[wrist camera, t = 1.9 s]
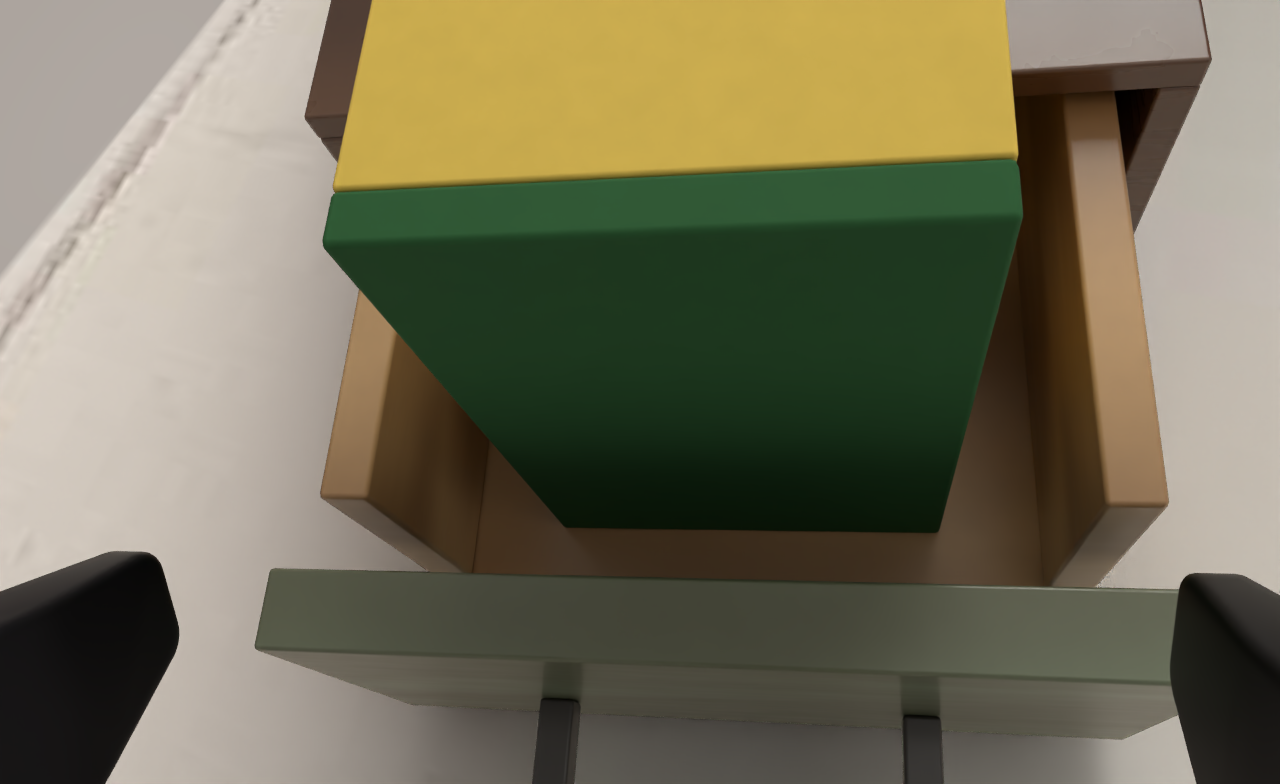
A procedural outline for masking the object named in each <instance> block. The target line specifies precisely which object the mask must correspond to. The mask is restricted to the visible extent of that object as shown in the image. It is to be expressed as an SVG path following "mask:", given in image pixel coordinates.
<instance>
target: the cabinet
mask: <svg viewBox="0 0 1280 784" xmlns="http://www.w3.org/2000/svg"><path fill="white" fill-rule="evenodd" d="M371 3H372V0H331V4H330V8H329V13H328V17H327V21H326V26H325V30H324V34H323V39H322V43H321V47H320V52H319V56H318V60H317V65H316V69H315V73H314V78H313V82H312V86H311V91H310V95H309V99H308V104H307V108H306V112H305V120H306V121H307V122H308V124H309V125H310V127H311V128H312V129H313V131H314V132H315V133H316V135H317V136H318V137H319V138H321V140H322V142H323V144H324V145H325V146H326V148H327V149H328V151H329V152H330V153H331V155H332V156H333V157H334V159H335V160H336V161H337V163H338V159H339V154H340V149H341V145H342V140H343V135H344V130H345V126H346V121H347V116H348V112H349V107H350V102H351V97H352V93H353V88H354V83H355V78H356V74H357V69H358V64H359V60H360V55H361V50H362V45H363V41H364V36H365V31H366V26H367V22H368V17H369V12H370V8H371ZM1005 4H1006V15H1007V27H1008V39H1009V50H1010V62H1011V73H1012V85H1013V96H1014V97H1018V96H1035V95H1051V94H1068V93H1085V92H1102V91H1115V98H1116V106H1117V113H1118V121H1119V129H1120V136H1121V144H1122V151H1123V159H1124V166H1125V174H1126V181H1127V189H1128V196H1129V204H1130V212H1131V219H1132V227H1133V234H1134V232H1135V230H1136V228H1137V226H1138V223H1139V221H1140V219H1141V217H1142V215H1143V212H1144V210H1145V208H1146V206H1147V204H1148V201H1149V199H1150V197H1151V195H1152V192H1153V190H1154V188H1155V186H1156V184H1157V181H1158V179H1159V177H1160V175H1161V172H1162V170H1163V168H1164V166H1165V164H1166V161H1167V159H1168V157H1169V155H1170V153H1171V150H1172V148H1173V146H1174V144H1175V141H1176V139H1177V137H1178V135H1179V133H1180V130H1181V128H1182V126H1183V124H1184V121H1185V119H1186V117H1187V115H1188V113H1189V110H1190V108H1191V106H1192V104H1193V102H1194V99H1195V97H1196V95H1197V93H1198V90H1199V88H1200V84H1201V83H1202V81H1203V78H1204V76H1205V74H1206V72H1207V70H1208V67H1209V65H1210V63H1211V60H1212V58H1211V52H1210V47H1209V41H1208V36H1207V30H1206V24H1205V19H1204V13H1203V8H1202V2H1201V0H1005Z"/></svg>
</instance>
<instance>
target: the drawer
mask: <svg viewBox="0 0 1280 784" xmlns="http://www.w3.org/2000/svg"><path fill="white" fill-rule="evenodd" d="M1014 108H1015V119H1016V131H1017V142H1018V158H1017V162H1016V163H1017V165H1018V167H1019V172H1020V184H1021V195H1022V207H1023V218H1022V222H1021V226H1020V230H1019V233H1018V237H1017V241H1016V245H1015V248H1014V252H1013V256H1012V260H1011V263H1010V267H1009V271H1008V275H1007V278H1006V282H1005V286H1004V290H1003V293H1002V297H1001V301H1000V305H999V308H998V312H997V316H996V320H995V324H994V327H993V331H992V335H991V339H990V342H989V346H988V350H987V354H986V357H985V361H984V365H983V369H982V372H981V376H980V380H979V384H978V387H977V391H976V395H975V399H974V402H973V406H972V410H971V414H970V417H969V421H968V425H967V429H966V432H965V436H964V440H963V444H962V447H961V451H960V455H959V459H958V462H957V466H956V470H955V474H954V477H953V481H952V485H951V489H950V492H949V496H948V500H947V504H946V507H945V511H944V515H943V519H942V522H941V526H940V529H939V532H936V533H899V532H831V531H762V530H694V529H626V528H566V527H564V526H563V525H562V524H561V522H560V521H559V520H558V519H557V518H556V517H555V516H554V514H553V513H552V512H551V511H550V510H549V509H548V507H547V506H546V505H545V504H544V503H543V502H542V500H541V499H540V498H539V497H538V496H537V495H536V493H535V492H534V491H533V490H532V489H531V488H530V487H529V485H528V484H527V483H526V482H525V481H524V480H523V478H522V477H521V476H520V475H519V474H518V473H517V471H516V470H515V469H514V468H513V467H512V466H511V465H510V463H509V462H508V461H507V460H506V459H505V458H504V456H503V455H502V454H501V453H500V452H499V451H498V449H497V448H496V447H495V446H494V445H493V444H492V442H491V441H490V440H489V439H488V438H487V437H486V436H485V434H484V433H483V432H482V431H481V430H480V429H479V427H478V426H477V425H476V424H475V423H474V422H473V420H472V419H471V418H470V417H469V416H468V415H467V413H466V412H465V411H464V410H463V409H462V408H461V407H460V405H459V404H458V403H457V402H456V401H455V400H454V398H453V397H452V396H451V395H450V394H449V393H448V391H447V390H446V389H445V388H444V387H443V386H442V384H441V383H440V382H439V381H438V380H437V379H436V378H435V376H434V375H433V374H432V373H431V372H430V371H429V369H428V368H427V367H426V366H425V365H424V364H423V362H422V361H421V360H420V359H419V358H418V357H417V355H416V354H415V353H414V352H413V351H412V350H411V349H410V347H409V346H408V345H407V344H406V343H405V342H404V340H403V339H402V338H401V337H400V336H399V335H398V333H397V332H396V331H395V330H394V329H393V328H392V327H391V325H390V324H389V323H388V322H387V321H386V320H385V318H384V317H383V316H382V315H381V314H380V313H379V311H378V310H377V309H376V308H375V307H374V306H373V304H372V303H371V302H370V301H369V300H368V299H367V298H366V296H365V295H364V294H363V293H362V292H361V291H360V289H359V293H358V298H357V304H356V309H355V314H354V319H353V324H352V330H351V335H350V340H349V345H348V351H347V356H346V361H345V366H344V371H343V377H342V382H341V387H340V392H339V398H338V403H337V408H336V413H335V418H334V424H333V429H332V434H331V439H330V445H329V450H328V455H327V460H326V465H325V471H324V476H323V481H322V486H321V491H320V495H321V498H322V499H323V500H325V501H326V502H328V503H329V504H331V505H332V506H334V507H335V508H337V509H338V510H340V511H341V512H342V513H344V514H345V515H347V516H348V517H350V518H351V519H353V520H354V521H356V522H357V523H359V524H360V525H362V526H363V527H364V528H366V529H367V530H369V531H370V532H372V533H373V534H375V535H376V536H378V537H379V538H381V539H382V540H384V541H385V542H386V543H388V544H389V545H391V546H392V547H394V548H395V549H397V550H398V551H400V552H401V553H403V554H404V555H405V556H407V557H408V558H410V559H411V560H413V561H414V562H416V563H417V564H419V565H420V566H422V567H423V568H425V569H426V570H427V571H429V572H411V571H368V570H325V569H283V568H275V569H271V571H270V573H269V578H268V582H267V587H266V592H265V597H264V602H263V607H262V612H261V617H260V622H259V626H258V631H257V636H256V641H255V649H256V650H258V651H261V652H264V653H267V654H269V655H272V656H275V657H278V658H281V659H284V660H286V661H289V662H292V663H295V664H298V665H301V666H303V667H306V668H309V669H312V670H315V671H318V672H320V673H323V674H326V675H329V676H332V677H335V678H337V679H340V680H343V681H346V682H349V683H352V684H354V685H357V686H360V687H363V688H366V689H369V690H371V691H374V692H377V693H380V694H383V695H386V696H388V697H391V698H394V699H397V700H400V701H403V702H405V703H408V704H411V705H422V706H442V707H463V708H483V709H504V710H524V711H539V719H538V729H537V739H536V749H535V759H534V769H533V779H532V784H574V781H575V769H576V758H577V746H578V734H579V722H580V713H586V714H606V715H627V716H647V717H668V718H688V719H709V720H730V721H750V722H771V723H791V724H812V725H832V726H853V727H873V728H894V729H901V731H902V766H903V784H944V772H943V748H942V731H955V732H976V733H996V734H1017V735H1037V736H1058V737H1079V738H1099V739H1120V740H1122V739H1125V738H1127V737H1129V736H1132V735H1134V734H1136V733H1138V732H1141V731H1143V730H1145V729H1147V728H1150V727H1152V726H1154V725H1156V724H1159V723H1161V722H1163V721H1165V720H1168V719H1170V718H1172V717H1174V716H1177V715H1178V712H1177V708H1176V704H1175V701H1174V697H1173V693H1172V687H1171V680H1170V657H1171V649H1172V641H1173V633H1174V624H1175V616H1176V608H1177V600H1178V592H1179V589H1137V588H1095V587H1096V586H1097V585H1098V584H1099V582H1100V581H1101V580H1102V579H1103V578H1104V577H1105V576H1106V575H1107V573H1108V572H1109V571H1110V570H1111V569H1112V568H1113V567H1114V566H1115V565H1116V563H1117V562H1118V561H1119V560H1120V559H1121V558H1122V557H1123V556H1124V554H1125V553H1126V552H1127V551H1128V550H1129V549H1130V548H1131V547H1132V545H1133V544H1134V543H1135V542H1136V541H1137V540H1138V539H1139V538H1140V537H1141V535H1142V534H1143V533H1144V532H1145V531H1146V530H1147V529H1148V528H1149V526H1150V525H1151V524H1152V523H1153V522H1154V521H1155V520H1156V519H1157V518H1158V516H1159V515H1160V514H1161V513H1162V512H1163V511H1164V510H1165V509H1166V507H1167V506H1168V504H1169V498H1168V491H1167V483H1166V476H1165V468H1164V461H1163V453H1162V445H1161V438H1160V430H1159V423H1158V415H1157V408H1156V400H1155V393H1154V385H1153V378H1152V370H1151V362H1150V355H1149V347H1148V340H1147V332H1146V325H1145V317H1144V310H1143V302H1142V295H1141V287H1140V279H1139V272H1138V264H1137V257H1136V249H1135V242H1134V234H1133V227H1132V219H1131V212H1130V204H1129V196H1128V189H1127V181H1126V174H1125V166H1124V159H1123V151H1122V144H1121V136H1120V129H1119V121H1118V113H1117V106H1116V98H1115V91H1102V92H1085V93H1068V94H1051V95H1035V96H1018V97H1014Z"/></svg>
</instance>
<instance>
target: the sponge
mask: <svg viewBox="0 0 1280 784" xmlns="http://www.w3.org/2000/svg"><path fill="white" fill-rule="evenodd" d="M1017 158H1018V142H1017V131H1016V119H1015V108H1014V96H1013V85H1012V73H1011V62H1010V50H1009V39H1008V27H1007V15H1006V4H1005V0H372V3H371V8H370V12H369V17H368V22H367V26H366V31H365V36H364V41H363V45H362V50H361V55H360V60H359V64H358V69H357V74H356V78H355V83H354V88H353V93H352V97H351V102H350V107H349V112H348V116H347V121H346V126H345V130H344V135H343V140H342V145H341V149H340V154H339V159H338V164H337V168H336V173H335V178H334V182H333V190H334V192H335V194H333V196H332V198H331V202H330V207H329V212H328V216H327V221H326V226H325V231H324V235H323V246H324V249H325V250H326V251H327V252H328V253H329V255H330V256H331V257H332V258H333V259H334V260H335V262H336V263H337V264H338V265H339V266H340V267H341V269H342V270H343V271H344V272H345V273H346V274H347V275H348V277H349V278H350V279H351V280H352V281H353V282H354V284H355V285H356V286H357V287H358V288H359V289H360V291H361V292H362V293H363V294H364V295H365V296H366V298H367V299H368V300H369V301H370V302H371V303H372V304H373V306H374V307H375V308H376V309H377V310H378V311H379V313H380V314H381V315H382V316H383V317H384V318H385V320H386V321H387V322H388V323H389V324H390V325H391V327H392V328H393V329H394V330H395V331H396V332H397V333H398V335H399V336H400V337H401V338H402V339H403V340H404V342H405V343H406V344H407V345H408V346H409V347H410V349H411V350H412V351H413V352H414V353H415V354H416V355H417V357H418V358H419V359H420V360H421V361H422V362H423V364H424V365H425V366H426V367H427V368H428V369H429V371H430V372H431V373H432V374H433V375H434V376H435V378H436V379H437V380H438V381H439V382H440V383H441V384H442V386H443V387H444V388H445V389H446V390H447V391H448V393H449V394H450V395H451V396H452V397H453V398H454V400H455V401H456V402H457V403H458V404H459V405H460V407H461V408H462V409H463V410H464V411H465V412H466V413H467V415H468V416H469V417H470V418H471V419H472V420H473V422H474V423H475V424H476V425H477V426H478V427H479V429H480V430H481V431H482V432H483V433H484V434H485V436H486V437H487V438H488V439H489V440H490V441H491V442H492V444H493V445H494V446H495V447H496V448H497V449H498V451H499V452H500V453H501V454H502V455H503V456H504V458H505V459H506V460H507V461H508V462H509V463H510V465H511V466H512V467H513V468H514V469H515V470H516V471H517V473H518V474H519V475H520V476H521V477H522V478H523V480H524V481H525V482H526V483H527V484H528V485H529V487H530V488H531V489H532V490H533V491H534V492H535V493H536V495H537V496H538V497H539V498H540V499H541V500H542V502H543V503H544V504H545V505H546V506H547V507H548V509H549V510H550V511H551V512H552V513H553V514H554V516H555V517H556V518H557V519H558V520H559V521H560V522H561V524H562V525H563V526H564V527H566V528H626V529H694V530H762V531H831V532H899V533H936V532H939V529H940V526H941V522H942V519H943V515H944V511H945V507H946V504H947V500H948V496H949V492H950V489H951V485H952V481H953V477H954V474H955V470H956V466H957V462H958V459H959V455H960V451H961V447H962V444H963V440H964V436H965V432H966V429H967V425H968V421H969V417H970V414H971V410H972V406H973V402H974V399H975V395H976V391H977V387H978V384H979V380H980V376H981V372H982V369H983V365H984V361H985V357H986V354H987V350H988V346H989V342H990V339H991V335H992V331H993V327H994V324H995V320H996V316H997V312H998V308H999V305H1000V301H1001V297H1002V293H1003V290H1004V286H1005V282H1006V278H1007V275H1008V271H1009V267H1010V263H1011V260H1012V256H1013V252H1014V248H1015V245H1016V241H1017V237H1018V233H1019V230H1020V226H1021V222H1022V218H1023V207H1022V195H1021V184H1020V172H1019V167H1018V165H1017V163H1016V162H1017Z"/></svg>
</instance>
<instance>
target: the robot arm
mask: <svg viewBox="0 0 1280 784" xmlns="http://www.w3.org/2000/svg"><path fill="white" fill-rule="evenodd" d="M178 641H179V626H178V621H177V618H176V614H175V611H174V607H173V603H172V600H171V596H170V593H169V589H168V586H167V582H166V579H165V575H164V572H163V568H162V566H161V563H160V562H159V561H158V559H157V558H156V557H155V556H153V555H152V554H150V553H147V552H127V551H113V552H108V553H104V554H101V555H99V556H96V557H93V558H90V559H88V560H85V561H82V562H80V563H77V564H74V565H71V566H69V567H66V568H63V569H60V570H58V571H55V572H52V573H50V574H47V575H44V576H41V577H39V578H36V579H33V580H30V581H28V582H25V583H22V584H20V585H17V586H14V587H11V588H9V589H6V590H3V591H0V784H105V783H106V781H107V779H108V778H109V776H110V774H111V772H112V771H113V769H114V767H115V765H116V763H117V761H118V760H119V758H120V756H121V754H122V752H123V750H124V748H125V746H126V745H127V743H128V741H129V739H130V737H131V735H132V733H133V731H134V730H135V728H136V726H137V724H138V722H139V720H140V718H141V717H142V715H143V713H144V711H145V709H146V707H147V705H148V703H149V702H150V700H151V698H152V696H153V694H154V692H155V690H156V689H157V687H158V685H159V683H160V681H161V679H162V677H163V675H164V674H165V672H166V670H167V668H168V666H169V664H170V662H171V660H172V659H173V657H174V655H175V652H176V649H177V646H178ZM1170 680H1171V687H1172V693H1173V697H1174V701H1175V704H1176V708H1177V712H1178V716H1179V719H1180V723H1181V727H1182V731H1183V734H1184V738H1185V742H1186V746H1187V750H1188V753H1189V757H1190V761H1191V765H1192V768H1193V772H1194V776H1195V780H1196V783H1197V784H1280V595H1278V594H1276V593H1275V592H1273V591H1271V590H1269V589H1267V588H1265V587H1264V586H1262V585H1260V584H1258V583H1256V582H1254V581H1253V580H1251V579H1249V578H1247V577H1245V576H1243V575H1238V574H1213V573H1194V574H1189V575H1187V576H1186V577H1185V578H1184V579H1183V581H1182V582H1181V585H1180V588H1179V592H1178V600H1177V608H1176V616H1175V624H1174V633H1173V641H1172V649H1171V657H1170Z"/></svg>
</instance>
